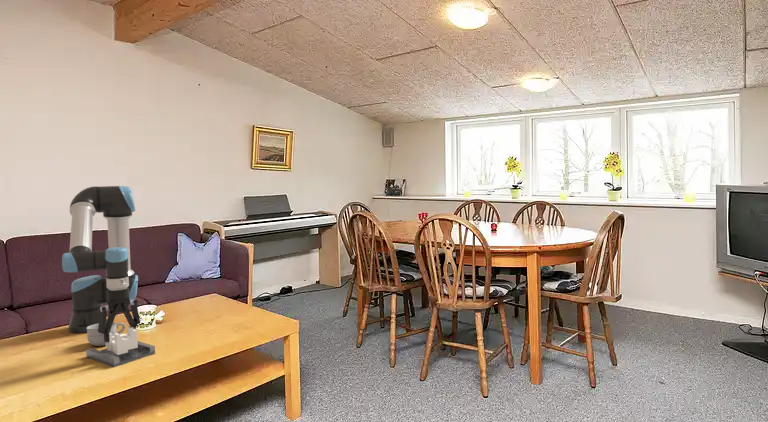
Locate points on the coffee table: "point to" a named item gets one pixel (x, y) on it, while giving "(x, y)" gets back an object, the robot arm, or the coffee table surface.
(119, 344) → the bracket
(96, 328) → the teacup
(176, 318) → the coffee table surface
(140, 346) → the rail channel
